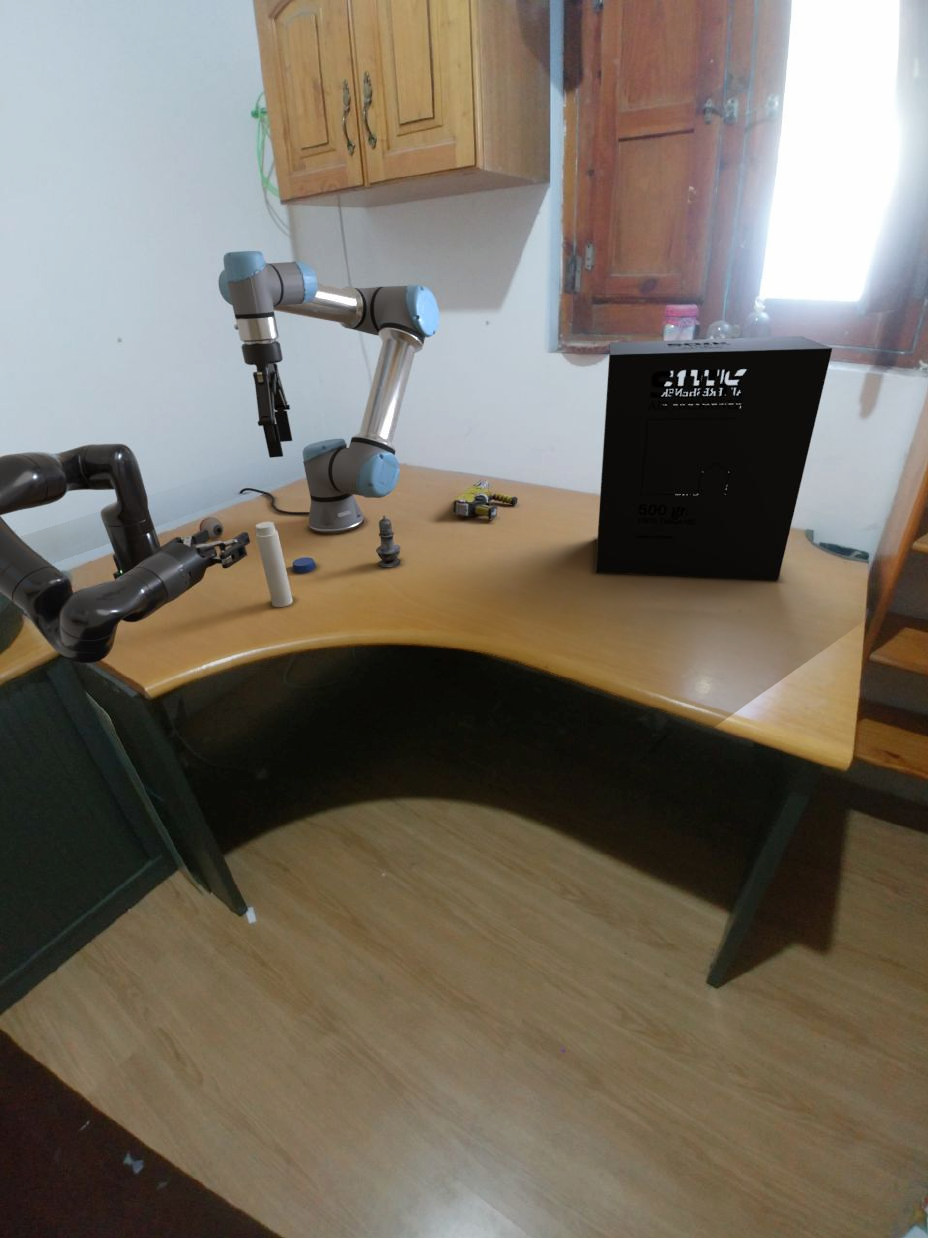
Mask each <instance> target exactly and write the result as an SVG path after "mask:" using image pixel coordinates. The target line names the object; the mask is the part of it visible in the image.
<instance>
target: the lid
mask: <svg viewBox="0 0 928 1238" xmlns="http://www.w3.org/2000/svg"><path fill="white" fill-rule="evenodd" d="M315 568H316V563H315V560H314V559H313V557H310V556H309V557H308V556H305V557H299V558H296V559H294V560H293V561H292V569H293V572H295V573H296V574H307V573H311V572H313V571H314V570H315Z"/></svg>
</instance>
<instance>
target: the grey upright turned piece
mask: <svg viewBox="0 0 928 1238" xmlns="http://www.w3.org/2000/svg"><path fill="white" fill-rule="evenodd" d="M378 528H379V533H378V536H379V537H380V538H379V539H380V546H378V547H376V549H375V552H376V553H377V555H378V557H379V558H380V559H381V560H379V562H378V565H379V567H382V568H395V567H398V566H399V565H400V564H401V562H402V560H401V559H400V558H398V557H399V556H400V551H401V546H399V544H395V540H394V535H395V532H393V526H392V521H391V519H389V518H386V515H383V516H382V519H380V520H379V522H378Z"/></svg>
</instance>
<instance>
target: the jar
mask: <svg viewBox="0 0 928 1238" xmlns="http://www.w3.org/2000/svg"><path fill="white" fill-rule="evenodd" d="M255 529H256V533H255V537H256V538H255V539H256V542H257V545H258V550H259V554H260V559H261V562H262V566H263V571H264V575H265V579H266V583H267V587H268V591H269V594H270V600H271V604H272V606H273V607H275V608H284V607H288V606H290V605H292V603H293V601H294V600H293V597H292V591H291V586H290V582H289V577H288V573H287V569H286V564H285V559H284V554H283V550H282V545H281V541H280V537H279V532H278V530H277V529H276V526H275V523H274V522H273V521H262V522H259V523H257V524H255Z"/></svg>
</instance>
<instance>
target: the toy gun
mask: <svg viewBox="0 0 928 1238" xmlns="http://www.w3.org/2000/svg"><path fill="white" fill-rule="evenodd" d="M491 501H495V502H499V503H503V504H506V505H507V504H509V505H510V506H511V505H512V506H516V505H517V504H518V497H517V496H510V495H507V494H503V493H498V492H495V493H494V494H492V492H491V491H490V482H489V481H488V480H485V481H484V479H480V480H479V481H477V482H476V483H474V484H472V485H471V486H470V487H469V488H468V489H466V490H465V491H464V492H463V493H462V494H461V495H459V496H458V497H457V498H456V499H454V501H453V502H452V512H453V514H454V515H457V517H461V518H464V517H473V516H477V515H478V516H479V515H480V516H485V517H487V518H488V520H490V521H491V520H493V519H494V518H496V517H497V516H498V505H497V504H492V505H491V503H490V502H491Z"/></svg>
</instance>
